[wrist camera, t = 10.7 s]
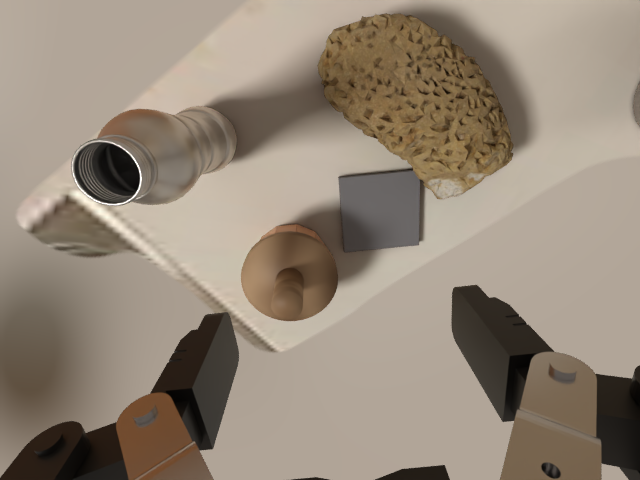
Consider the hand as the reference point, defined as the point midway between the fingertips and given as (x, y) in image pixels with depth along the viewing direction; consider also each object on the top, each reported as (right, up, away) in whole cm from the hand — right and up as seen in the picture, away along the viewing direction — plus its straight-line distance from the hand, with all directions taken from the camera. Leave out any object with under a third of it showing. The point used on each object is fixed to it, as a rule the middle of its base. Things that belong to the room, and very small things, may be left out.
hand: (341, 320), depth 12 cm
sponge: (+9, +17, +24) cm, 31 cm away
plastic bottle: (-13, +14, +25) cm, 31 cm away
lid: (-4, -1, +26) cm, 26 cm away
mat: (+6, +6, +28) cm, 29 cm away
